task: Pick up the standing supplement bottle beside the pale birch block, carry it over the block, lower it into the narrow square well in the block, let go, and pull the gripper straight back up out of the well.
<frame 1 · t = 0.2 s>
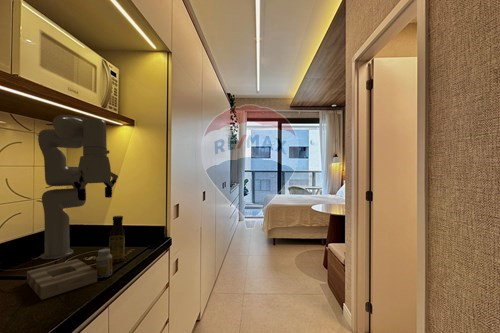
hand: (95, 198, 94), 30 cm above the counter, tool pointing down, fingers open, 9 cm apart
supplement bottle: (104, 275, 98), on the counter
sauce bottle: (117, 261, 114), on the counter
well block: (62, 282, 93), on the counter
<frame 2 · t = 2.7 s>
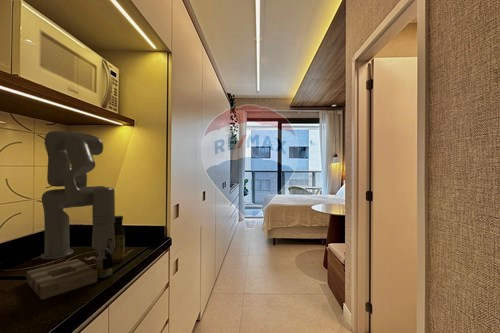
hand: (104, 266, 98), 4 cm above the counter, tool pointing down, fingers closed on supplement bottle, 5 cm apart
supplement bottle: (104, 275, 98), on the counter, touching gripper
everything else where it was.
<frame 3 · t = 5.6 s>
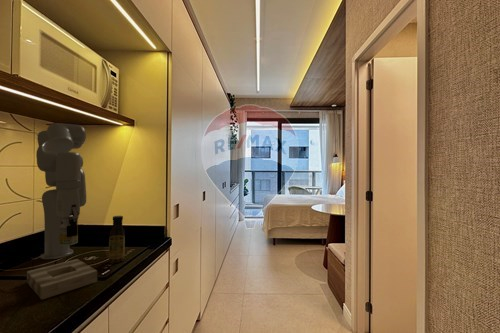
hand: (69, 234, 94), 17 cm above the counter, tool pointing down, fingers closed on supplement bottle, 5 cm apart
supplement bottle: (69, 244, 94), point 13 cm above the counter, touching gripper
everything else where it was.
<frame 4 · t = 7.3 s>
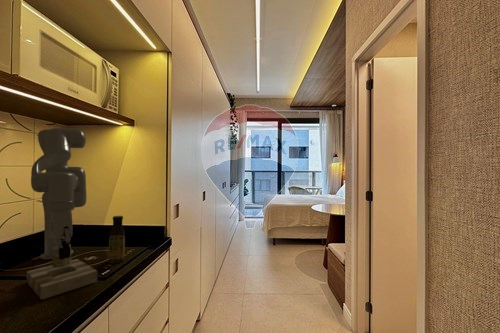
hand: (61, 255, 93), 10 cm above the counter, tool pointing down, fingers closed on supplement bottle, 5 cm apart
supplement bottle: (61, 266, 93), point 6 cm above the counter, touching gripper
everything else where it was.
when the fingers open (5 cm above the counter, at t = 8.6 s): supplement bottle stays where it is, resting on well block.
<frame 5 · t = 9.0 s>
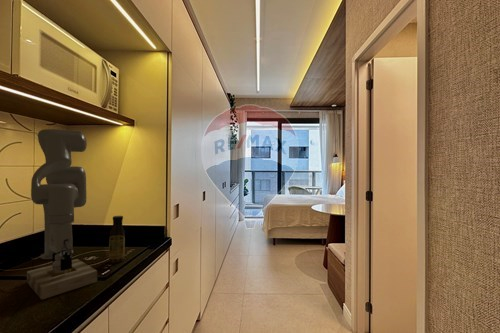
hand: (61, 266, 93), 6 cm above the counter, tool pointing down, fingers open, 9 cm apart
supplement bottle: (61, 281, 93), resting on well block
everything else where it was.
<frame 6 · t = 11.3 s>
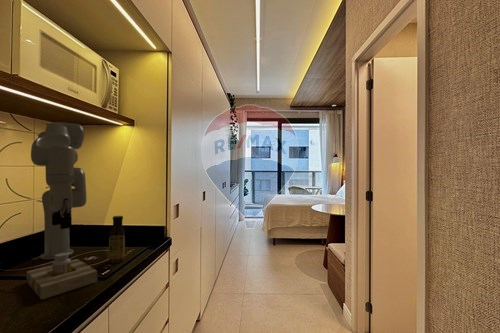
hand: (61, 226, 93), 20 cm above the counter, tool pointing down, fingers open, 9 cm apart
nothing on the counter moved.
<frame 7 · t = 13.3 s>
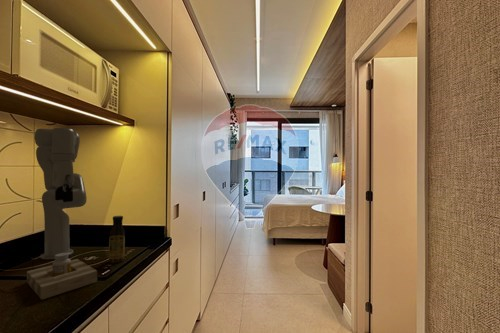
hand: (63, 200, 104), 28 cm above the counter, tool pointing down, fingers open, 9 cm apart
nothing on the counter moved.
at the end: supplement bottle 0.3 cm off-centre on the well block, point 0.1 cm above the well block's base; supplement bottle tilted 0°; the gripper is holding nothing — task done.
